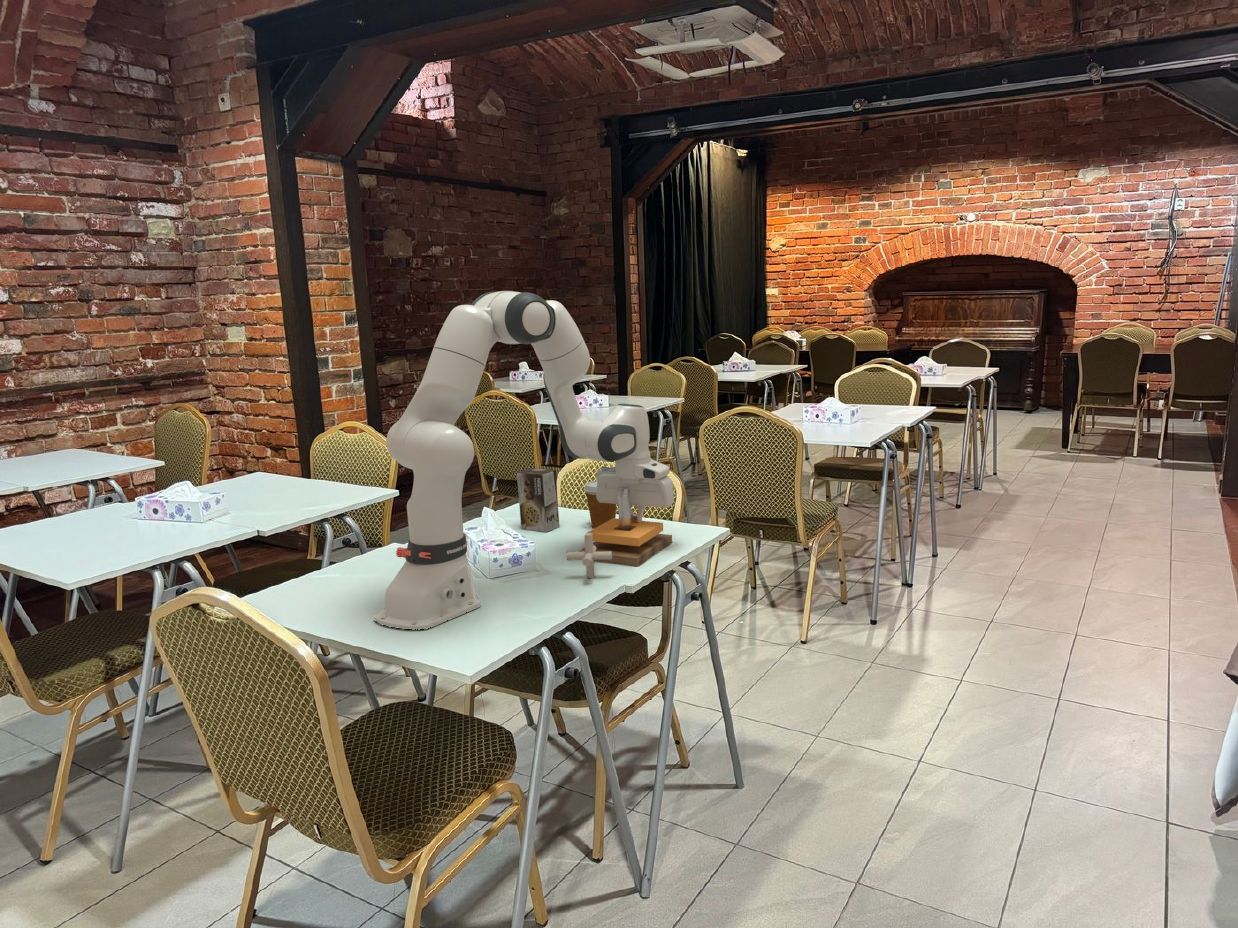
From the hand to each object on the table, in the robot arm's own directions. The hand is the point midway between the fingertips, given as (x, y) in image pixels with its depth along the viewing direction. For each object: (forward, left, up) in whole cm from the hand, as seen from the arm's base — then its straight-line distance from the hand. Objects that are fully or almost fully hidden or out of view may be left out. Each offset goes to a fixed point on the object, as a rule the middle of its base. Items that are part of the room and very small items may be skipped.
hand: (635, 521), depth 213 cm
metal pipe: (-6, 0, -4) cm, 7 cm away
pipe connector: (-26, -1, -6) cm, 26 cm away
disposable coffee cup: (+12, +16, -6) cm, 21 cm away
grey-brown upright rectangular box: (+5, +32, -6) cm, 33 cm away
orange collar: (-6, 0, -2) cm, 6 cm away
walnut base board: (-6, 0, -6) cm, 8 cm away
